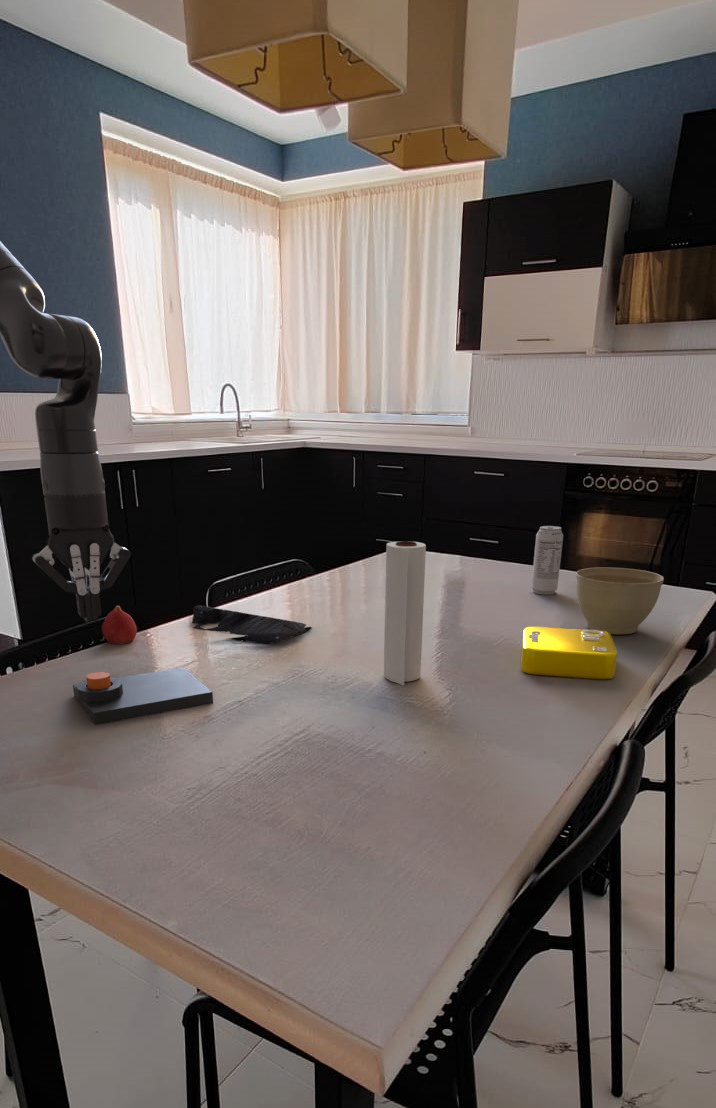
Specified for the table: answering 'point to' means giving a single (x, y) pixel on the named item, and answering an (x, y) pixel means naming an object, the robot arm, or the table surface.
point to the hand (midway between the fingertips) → (90, 620)
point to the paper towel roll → (404, 610)
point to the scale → (142, 695)
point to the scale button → (98, 680)
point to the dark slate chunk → (247, 625)
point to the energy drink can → (547, 560)
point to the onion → (119, 627)
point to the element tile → (568, 653)
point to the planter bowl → (617, 597)
